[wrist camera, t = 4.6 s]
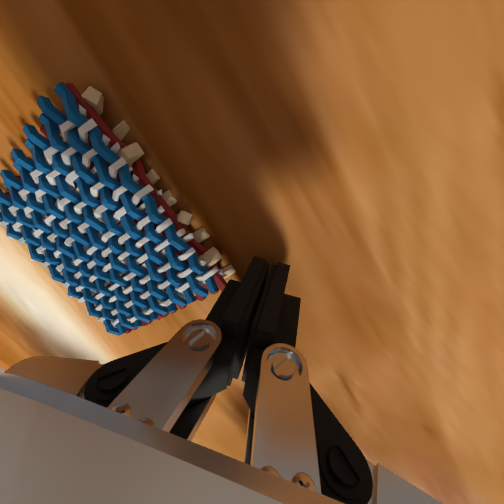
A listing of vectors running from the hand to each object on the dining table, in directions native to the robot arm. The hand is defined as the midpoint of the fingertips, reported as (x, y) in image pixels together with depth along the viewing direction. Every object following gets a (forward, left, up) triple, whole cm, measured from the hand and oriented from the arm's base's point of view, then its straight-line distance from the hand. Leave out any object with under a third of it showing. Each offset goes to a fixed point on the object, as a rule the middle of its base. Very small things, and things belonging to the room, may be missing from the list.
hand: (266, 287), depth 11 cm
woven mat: (0, -9, -1) cm, 9 cm away
